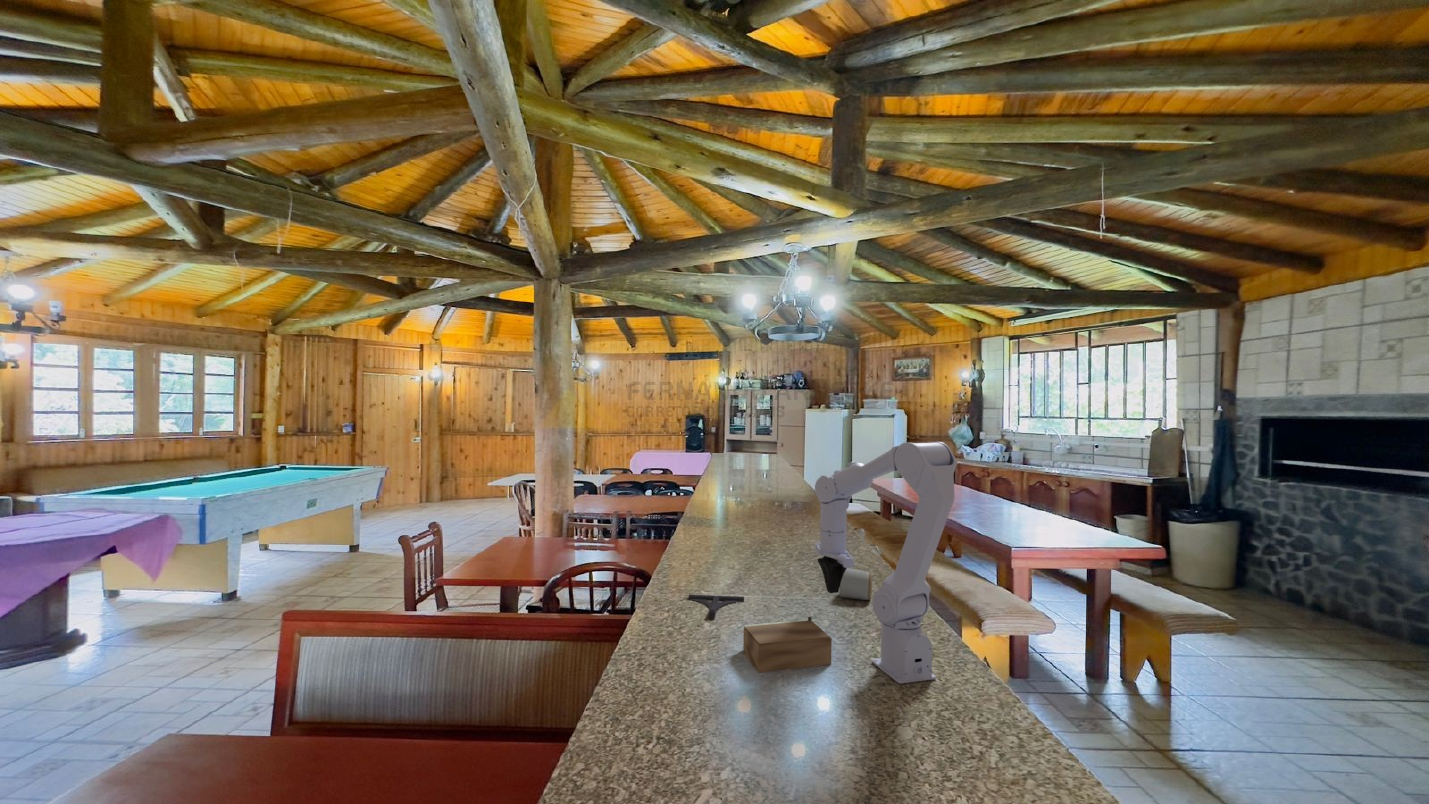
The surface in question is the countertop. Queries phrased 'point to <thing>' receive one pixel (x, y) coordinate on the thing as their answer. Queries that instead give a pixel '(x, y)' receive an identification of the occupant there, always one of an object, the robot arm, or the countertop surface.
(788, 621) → the door
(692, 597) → the bracket
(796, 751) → the countertop surface
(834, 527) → the robot arm
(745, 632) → the cabinet
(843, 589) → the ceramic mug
